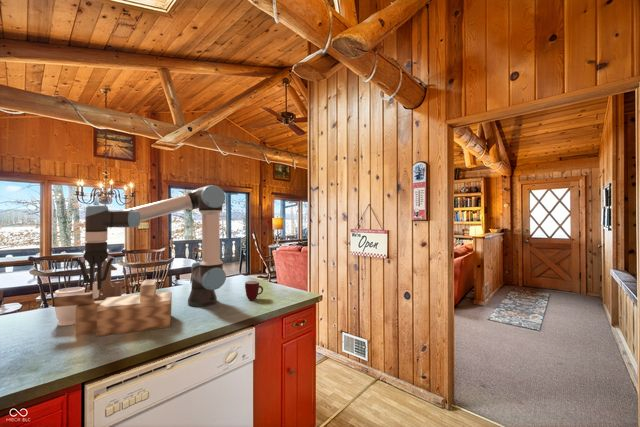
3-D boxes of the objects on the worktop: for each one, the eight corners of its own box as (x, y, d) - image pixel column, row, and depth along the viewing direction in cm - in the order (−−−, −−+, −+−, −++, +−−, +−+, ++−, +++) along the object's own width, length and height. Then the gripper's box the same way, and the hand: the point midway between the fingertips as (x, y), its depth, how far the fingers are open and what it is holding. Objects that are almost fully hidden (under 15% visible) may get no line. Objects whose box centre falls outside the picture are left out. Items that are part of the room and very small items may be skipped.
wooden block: (94, 301, 125) (94, 291, 125) (91, 303, 121) (91, 294, 121) (58, 304, 119) (58, 294, 120) (54, 307, 116) (54, 297, 116)
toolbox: (171, 315, 142) (171, 291, 142) (169, 326, 128) (170, 300, 128) (84, 325, 128) (84, 299, 128) (71, 339, 113) (71, 310, 113)
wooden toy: (84, 311, 148) (85, 261, 148) (86, 307, 153) (87, 259, 154) (120, 306, 156) (121, 259, 156) (121, 303, 161) (122, 258, 162)
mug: (259, 296, 178) (259, 279, 178) (265, 299, 172) (265, 282, 172) (242, 298, 172) (243, 281, 172) (247, 302, 166) (248, 284, 166)
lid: (171, 294, 142) (171, 277, 142) (170, 303, 128) (170, 284, 128) (106, 300, 131) (107, 281, 131) (97, 311, 117) (97, 290, 117)
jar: (48, 325, 128) (49, 290, 128) (75, 317, 138) (75, 285, 138) (63, 328, 124) (64, 293, 125) (90, 320, 134) (90, 287, 134)
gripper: (116, 240, 130) (116, 293, 129) (80, 241, 124) (79, 297, 124) (113, 242, 123) (112, 298, 122) (73, 243, 117) (73, 301, 117)
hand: (95, 297), depth 123 cm, fingers closed
